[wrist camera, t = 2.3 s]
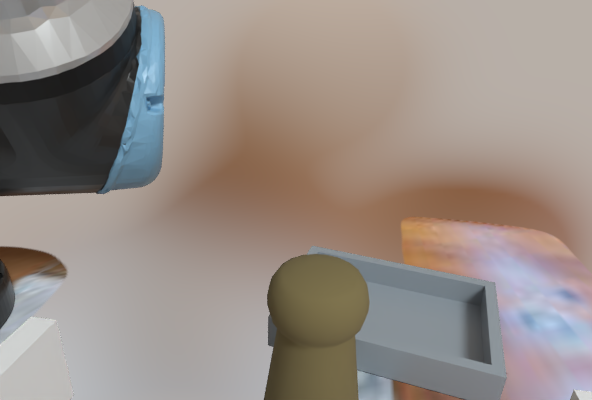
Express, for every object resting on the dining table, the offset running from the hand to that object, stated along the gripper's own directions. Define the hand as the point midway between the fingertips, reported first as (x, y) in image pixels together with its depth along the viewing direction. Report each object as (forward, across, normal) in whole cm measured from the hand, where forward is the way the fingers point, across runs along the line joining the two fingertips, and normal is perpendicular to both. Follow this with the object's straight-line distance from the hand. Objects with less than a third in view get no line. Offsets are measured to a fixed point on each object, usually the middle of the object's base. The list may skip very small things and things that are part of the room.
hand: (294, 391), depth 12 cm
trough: (+20, +4, -14) cm, 25 cm away
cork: (+10, 0, -14) cm, 18 cm away
